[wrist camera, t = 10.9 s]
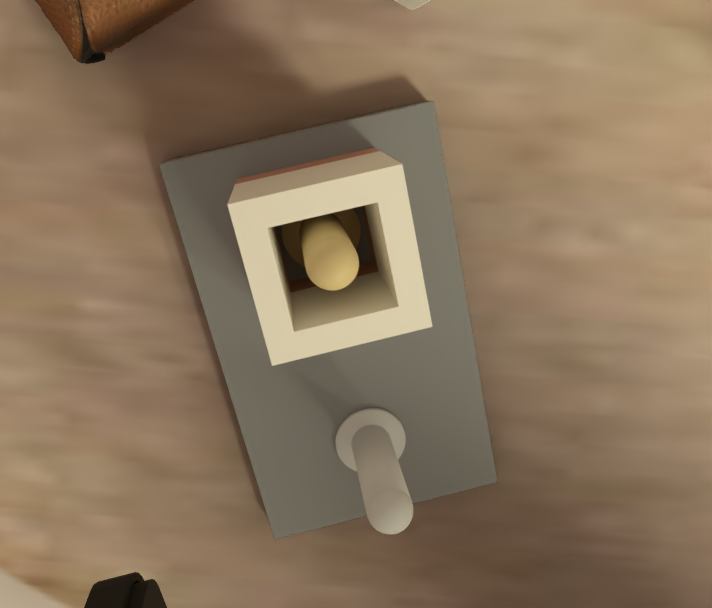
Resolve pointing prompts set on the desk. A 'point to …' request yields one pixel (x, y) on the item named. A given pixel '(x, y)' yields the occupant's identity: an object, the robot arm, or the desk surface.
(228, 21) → the desk surface
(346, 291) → the sleeve
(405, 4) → the photo printer
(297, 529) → the pin board
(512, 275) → the desk surface
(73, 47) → the sunglasses case
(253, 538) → the desk surface
